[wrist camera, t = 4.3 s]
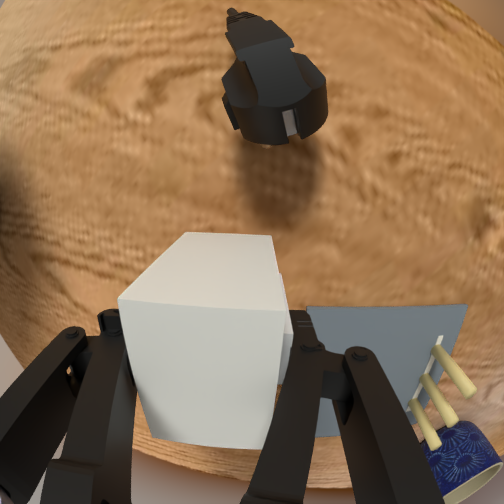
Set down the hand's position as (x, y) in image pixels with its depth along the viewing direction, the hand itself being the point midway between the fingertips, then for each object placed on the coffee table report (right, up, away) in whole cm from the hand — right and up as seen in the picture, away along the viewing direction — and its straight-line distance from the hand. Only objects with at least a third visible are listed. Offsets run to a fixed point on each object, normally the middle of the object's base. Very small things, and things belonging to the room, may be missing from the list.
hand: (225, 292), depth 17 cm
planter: (+29, -25, +10) cm, 39 cm away
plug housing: (0, 0, 0) cm, 0 cm away
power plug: (+1, +19, +1) cm, 19 cm away
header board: (+13, -10, +6) cm, 18 cm away
